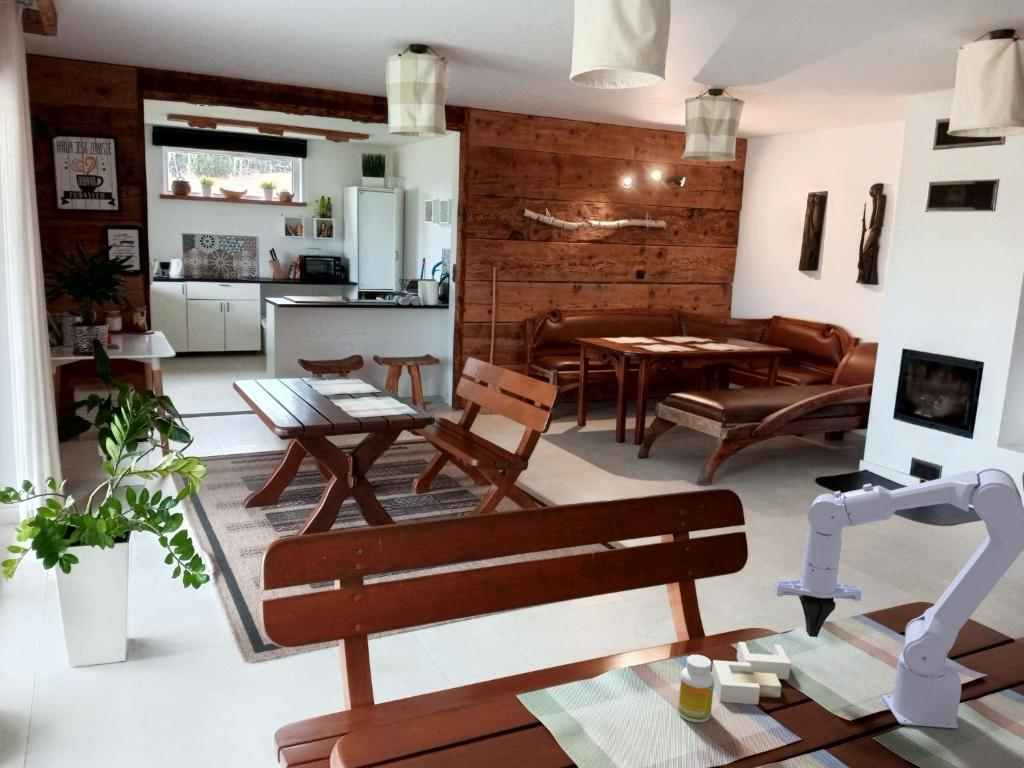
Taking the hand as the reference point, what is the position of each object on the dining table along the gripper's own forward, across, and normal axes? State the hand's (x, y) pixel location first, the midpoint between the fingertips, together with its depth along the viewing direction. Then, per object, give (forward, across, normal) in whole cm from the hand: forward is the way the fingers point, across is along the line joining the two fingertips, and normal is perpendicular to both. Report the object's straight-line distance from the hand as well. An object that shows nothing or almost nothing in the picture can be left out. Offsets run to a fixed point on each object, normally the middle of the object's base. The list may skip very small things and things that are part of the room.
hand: (811, 634), depth 144 cm
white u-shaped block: (+9, +7, -4) cm, 12 cm away
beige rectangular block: (+10, +10, +3) cm, 14 cm away
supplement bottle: (+10, +22, +12) cm, 27 cm away
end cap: (+10, +14, +4) cm, 17 cm away
